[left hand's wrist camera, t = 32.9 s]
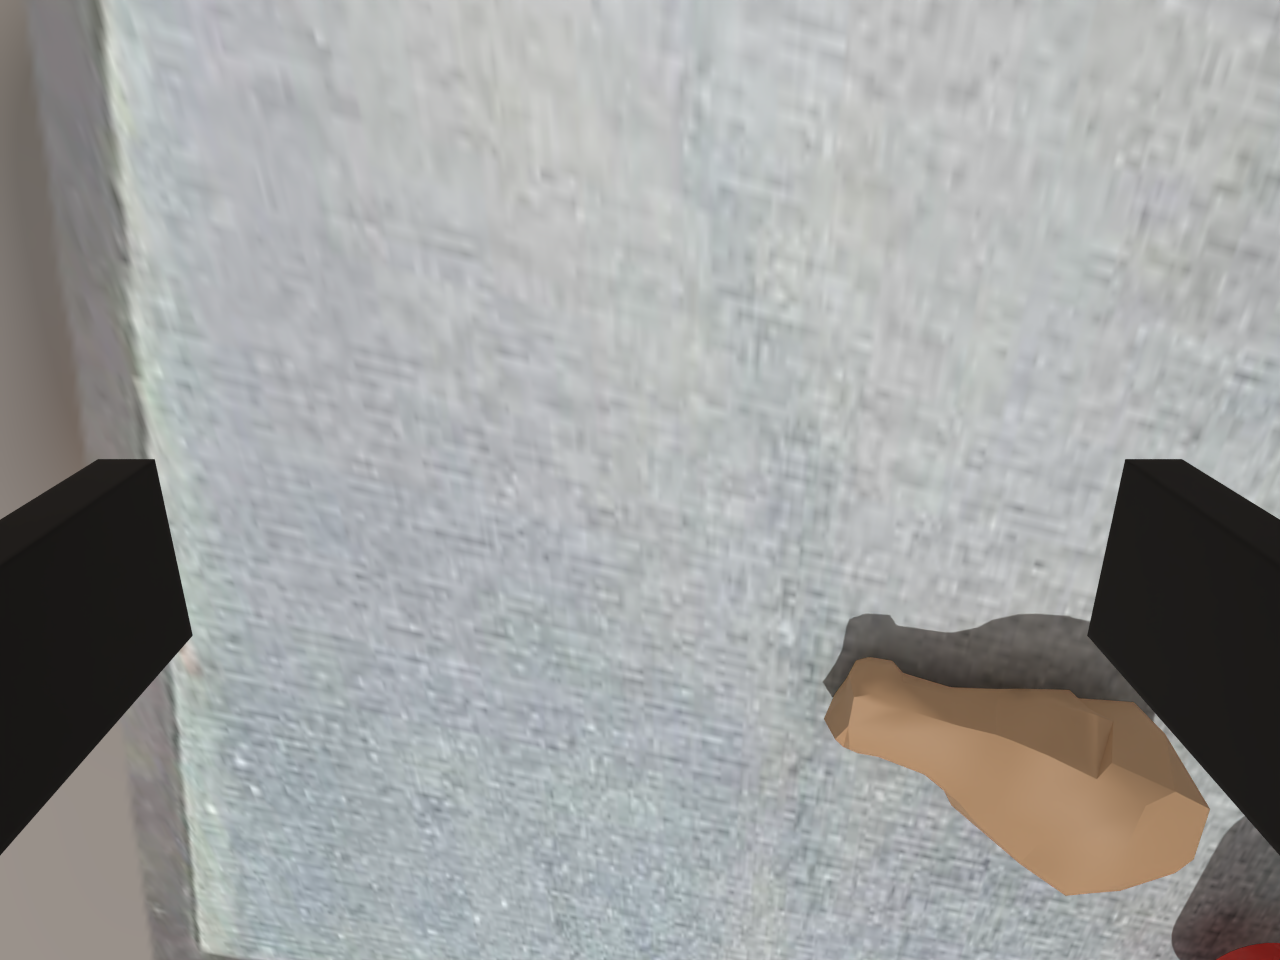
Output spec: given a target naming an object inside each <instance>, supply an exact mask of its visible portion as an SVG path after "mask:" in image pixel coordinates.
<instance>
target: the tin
mask: <svg viewBox="0 0 1280 960" xmlns="http://www.w3.org/2000/svg"><path fill="white" fill-rule="evenodd" d="M1216 960H1280V943H1262V944H1255V945H1250V946H1246V947H1242V948H1239V949H1236V950H1234V951H1231V952H1229V953H1227V954H1225V955H1223V956H1221V957H1219V958H1218V959H1216Z"/></svg>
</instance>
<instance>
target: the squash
mask: <svg viewBox="0 0 1280 960" xmlns="http://www.w3.org/2000/svg"><path fill="white" fill-rule="evenodd" d="M824 720H825V722H826V723H827V725H828V727H829V729H830V731H831V733H832V734H833V736H834V738H835V739H836V740H837V741H838V742H839V743H840V744H841V745H842V746H843V747H845V748H847V749H850V750H852V751H854V752H856V753H860V754H866V755H872V756H878V757H880V758H883V759H885V760H888V761H891V762H893V763H896V764H899V765H901V766H904V767H906V768H909V769H912V770H914V771H917V772H920V773H922V774H924V775H926V776H927V777H928V778H929V779H931V780H932V781H933V782H934V783H936V784H937V785H938V786H939V787H940V788H942V789H943V790H944V791H945V793H946V795H947V797H948V799H949V801H950V803H951V805H952V806H953V807H954V808H955V809H956V810H958V811H959V812H960V813H961V814H962V815H963V816H965V817H966V818H967V819H968V820H969V821H970V822H972V823H973V824H974V825H975V826H976V827H977V828H979V829H980V830H981V831H982V832H983V833H984V834H986V835H987V836H988V837H989V838H990V839H991V840H993V841H994V842H995V843H996V844H997V845H998V846H1000V847H1001V848H1002V849H1003V850H1004V851H1005V852H1007V853H1008V854H1009V855H1010V856H1011V857H1013V858H1014V859H1015V860H1016V861H1017V862H1018V863H1020V864H1021V865H1022V866H1024V867H1025V868H1027V869H1028V870H1030V871H1031V872H1032V873H1034V874H1035V875H1037V876H1038V877H1040V878H1041V879H1042V880H1044V881H1045V882H1047V883H1048V884H1050V885H1051V886H1053V887H1054V888H1055V889H1057V890H1058V891H1060V892H1061V893H1063V894H1064V895H1065V896H1067V895H1077V894H1087V893H1098V892H1111V891H1121V890H1124V889H1127V888H1130V887H1133V886H1136V885H1139V884H1142V883H1145V882H1149V881H1152V880H1155V879H1158V878H1161V877H1164V876H1167V875H1170V874H1173V873H1176V872H1177V871H1178V870H1180V869H1181V868H1182V867H1184V866H1185V865H1186V864H1188V863H1189V862H1191V861H1192V860H1193V859H1194V857H1195V853H1196V850H1197V847H1198V844H1199V841H1200V838H1201V835H1202V832H1203V829H1204V826H1205V823H1206V820H1207V817H1208V814H1209V811H1210V808H1209V807H1208V805H1207V803H1206V802H1205V800H1204V798H1203V797H1202V795H1201V793H1200V792H1199V790H1198V788H1197V787H1196V785H1195V783H1194V782H1193V780H1192V778H1191V777H1190V775H1189V773H1188V772H1187V770H1186V768H1185V767H1184V765H1183V763H1182V762H1181V760H1180V758H1179V756H1178V755H1177V753H1176V751H1175V750H1174V748H1173V746H1172V745H1171V743H1170V741H1169V740H1168V738H1167V736H1166V735H1165V733H1164V732H1163V731H1162V730H1161V729H1160V728H1159V727H1158V726H1157V725H1156V724H1155V723H1154V722H1153V721H1152V720H1151V719H1150V718H1149V717H1148V716H1147V715H1146V714H1145V713H1144V712H1143V711H1142V710H1141V709H1140V708H1139V707H1138V706H1137V705H1136V704H1135V703H1134V702H1125V701H1111V700H1096V699H1082V698H1077V697H1076V696H1075V695H1074V694H1073V693H1072V692H1071V691H1070V690H1056V689H983V688H955V687H948V686H945V685H942V684H938V683H935V682H932V681H928V680H925V679H922V678H918V677H915V676H912V675H908V674H905V673H903V672H902V671H901V670H900V669H899V668H898V667H897V666H896V664H895V663H894V662H893V661H891V660H885V659H878V658H872V657H867V658H863V659H859V660H856V661H855V663H854V665H853V667H852V669H851V671H850V673H849V674H848V676H847V678H846V679H845V681H844V682H843V684H842V685H841V686H840V688H839V689H838V690H837V692H836V693H835V695H834V697H833V699H832V702H831V704H830V706H829V708H828V711H827V713H826V715H825V718H824Z"/></svg>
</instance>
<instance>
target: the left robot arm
mask: <svg viewBox="0 0 1280 960" xmlns="http://www.w3.org/2000/svg"><path fill="white" fill-rule="evenodd" d="M192 636H193V635H192V630H191V626H190V621H189V616H188V612H187V607H186V602H185V598H184V593H183V589H182V584H181V579H180V575H179V570H178V565H177V561H176V556H175V551H174V547H173V542H172V537H171V533H170V528H169V524H168V519H167V514H166V510H165V505H164V500H163V496H162V491H161V486H160V482H159V477H158V472H157V468H156V463H155V459H98V460H96V461H94V462H93V463H91V464H90V465H88V466H86V467H85V468H83V469H82V470H80V471H78V472H77V473H75V474H73V475H72V476H70V477H69V478H67V479H65V480H64V481H62V482H61V483H59V484H57V485H56V486H54V487H52V488H51V489H49V490H48V491H46V492H44V493H43V494H41V495H39V496H38V497H36V498H35V499H33V500H31V501H30V502H28V503H27V504H25V505H23V506H22V507H20V508H19V509H17V510H15V511H14V512H12V513H10V514H9V515H7V516H6V517H4V518H2V519H1V520H0V855H1V854H2V853H3V851H4V850H5V849H6V848H7V847H8V846H9V845H10V844H11V842H12V841H13V840H14V839H15V838H16V837H17V835H18V834H19V833H20V832H21V831H22V830H23V829H24V827H25V826H26V825H27V824H28V823H29V822H30V821H31V820H32V818H33V817H34V816H35V815H36V814H37V813H38V812H39V810H40V809H41V808H42V807H43V806H44V805H45V804H46V802H47V801H48V800H49V799H50V798H51V797H52V796H53V794H54V793H55V792H56V791H57V790H58V789H59V787H60V786H61V785H62V784H63V783H64V782H65V781H66V780H67V778H68V777H69V776H70V775H71V774H72V773H73V772H74V770H75V769H76V768H77V767H78V766H79V765H80V763H81V762H82V761H83V760H84V759H85V758H86V757H87V756H88V754H89V753H90V752H91V751H92V750H93V749H94V748H95V746H96V745H97V744H98V743H99V742H100V741H101V740H102V738H103V737H104V736H105V735H106V734H107V733H108V732H109V730H110V729H111V728H112V727H113V726H114V725H115V724H116V722H117V721H118V720H119V719H120V718H121V717H122V716H123V714H124V713H125V712H126V711H127V710H128V709H129V708H130V706H131V705H132V704H133V703H134V702H135V701H136V700H137V698H138V697H139V696H140V695H141V694H142V693H143V692H144V690H145V689H146V688H147V687H148V686H149V685H150V684H151V682H152V681H153V680H154V679H155V678H156V677H157V676H158V674H159V673H160V672H161V671H162V670H163V669H164V668H165V666H166V665H167V664H168V663H169V662H170V661H171V660H172V658H173V657H174V656H175V655H176V654H177V653H178V652H179V650H180V649H181V648H182V647H183V646H184V645H185V644H186V642H187V641H188V640H189V639H190V638H191V637H192ZM1087 636H1088V637H1089V638H1090V639H1091V640H1092V641H1093V642H1094V644H1095V645H1096V646H1097V647H1098V648H1099V649H1100V650H1101V652H1102V653H1103V654H1104V655H1105V656H1106V657H1107V658H1108V660H1109V661H1110V662H1111V663H1112V664H1113V665H1114V666H1115V668H1116V669H1117V670H1118V671H1119V672H1120V673H1121V674H1122V676H1123V677H1124V678H1125V679H1126V680H1127V681H1128V682H1129V684H1130V685H1131V686H1132V687H1133V688H1134V689H1135V690H1136V692H1137V693H1138V694H1139V695H1140V696H1141V697H1142V698H1143V700H1144V701H1145V702H1146V703H1147V704H1148V705H1149V706H1150V708H1151V709H1152V710H1153V711H1154V712H1155V713H1156V714H1157V716H1158V717H1159V718H1160V719H1161V720H1162V721H1163V722H1164V724H1165V725H1166V726H1167V727H1168V728H1169V729H1170V730H1171V732H1172V733H1173V734H1174V735H1175V736H1176V737H1177V738H1178V740H1179V741H1180V742H1181V743H1182V744H1183V745H1184V746H1185V748H1186V749H1187V750H1188V751H1189V752H1190V753H1191V754H1192V756H1193V757H1194V758H1195V759H1196V760H1197V761H1198V762H1199V764H1200V765H1201V766H1202V767H1203V768H1204V769H1205V770H1206V772H1207V773H1208V774H1209V775H1210V776H1211V777H1212V778H1213V780H1214V781H1215V782H1216V783H1217V784H1218V785H1219V786H1220V788H1221V789H1222V790H1223V791H1224V792H1225V793H1226V794H1227V796H1228V797H1229V798H1230V799H1231V800H1232V801H1233V802H1234V804H1235V805H1236V806H1237V807H1238V808H1239V809H1240V810H1241V812H1242V813H1243V814H1244V815H1245V816H1246V817H1247V818H1248V820H1249V821H1250V822H1251V823H1252V824H1253V825H1254V826H1255V828H1256V829H1257V830H1258V831H1259V832H1260V833H1261V834H1262V836H1263V837H1264V838H1265V839H1266V840H1267V841H1268V842H1269V844H1270V845H1271V846H1272V847H1273V848H1274V849H1275V850H1276V852H1277V853H1278V854H1279V855H1280V520H1279V519H1278V518H1276V517H1275V516H1273V515H1271V514H1270V513H1268V512H1266V511H1265V510H1263V509H1262V508H1260V507H1258V506H1257V505H1255V504H1253V503H1252V502H1250V501H1249V500H1247V499H1245V498H1244V497H1242V496H1241V495H1239V494H1237V493H1236V492H1234V491H1232V490H1231V489H1229V488H1228V487H1226V486H1224V485H1223V484H1221V483H1219V482H1218V481H1216V480H1215V479H1213V478H1211V477H1210V476H1208V475H1207V474H1205V473H1203V472H1202V471H1200V470H1198V469H1197V468H1195V467H1194V466H1192V465H1190V464H1189V463H1187V462H1186V461H1184V460H1182V459H1125V463H1124V468H1123V472H1122V477H1121V482H1120V486H1119V491H1118V496H1117V500H1116V505H1115V510H1114V514H1113V519H1112V523H1111V528H1110V533H1109V537H1108V542H1107V547H1106V551H1105V556H1104V561H1103V565H1102V570H1101V575H1100V579H1099V584H1098V589H1097V593H1096V598H1095V602H1094V607H1093V612H1092V616H1091V621H1090V626H1089V630H1088V635H1087Z"/></svg>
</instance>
